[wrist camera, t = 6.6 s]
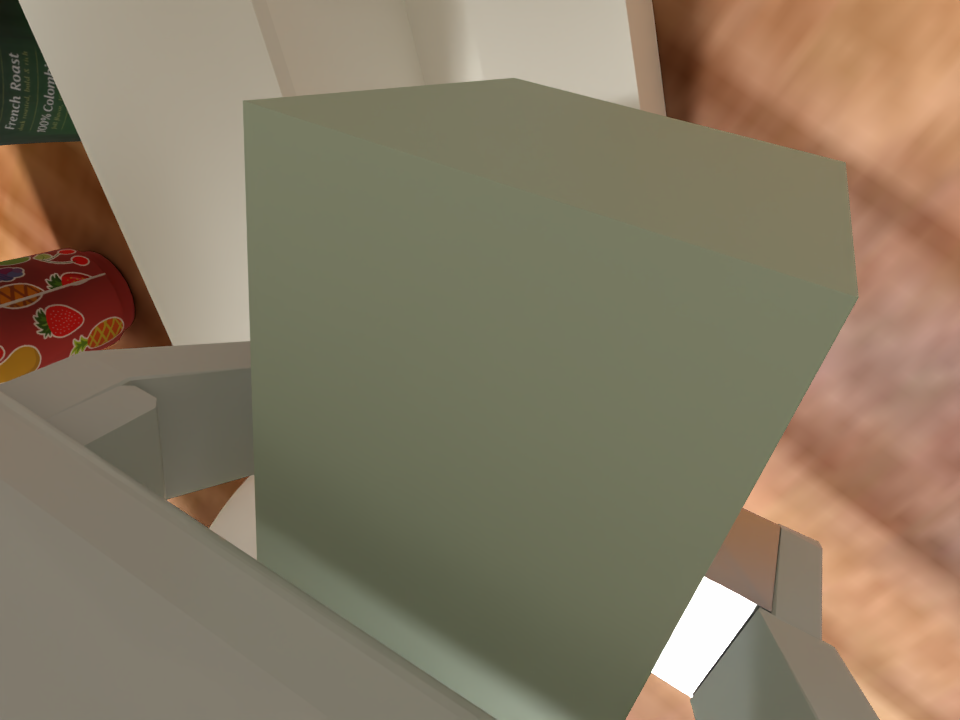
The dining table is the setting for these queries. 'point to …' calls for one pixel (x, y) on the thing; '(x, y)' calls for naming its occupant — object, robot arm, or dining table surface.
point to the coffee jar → (28, 86)
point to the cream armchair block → (285, 73)
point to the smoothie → (59, 308)
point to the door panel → (523, 368)
